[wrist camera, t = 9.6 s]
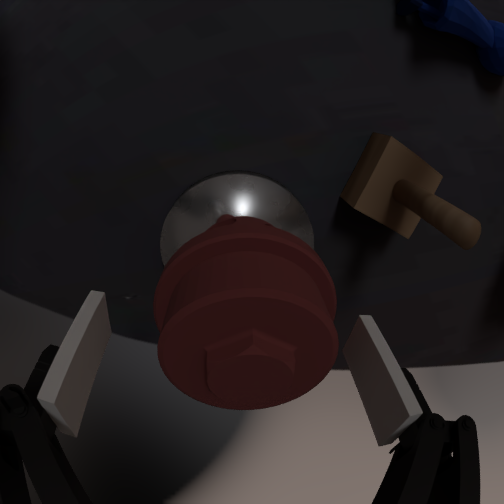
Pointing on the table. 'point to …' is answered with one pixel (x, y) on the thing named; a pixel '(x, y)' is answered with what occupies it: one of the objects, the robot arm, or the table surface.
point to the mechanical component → (245, 316)
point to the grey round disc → (232, 208)
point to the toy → (462, 27)
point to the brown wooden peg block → (404, 193)
